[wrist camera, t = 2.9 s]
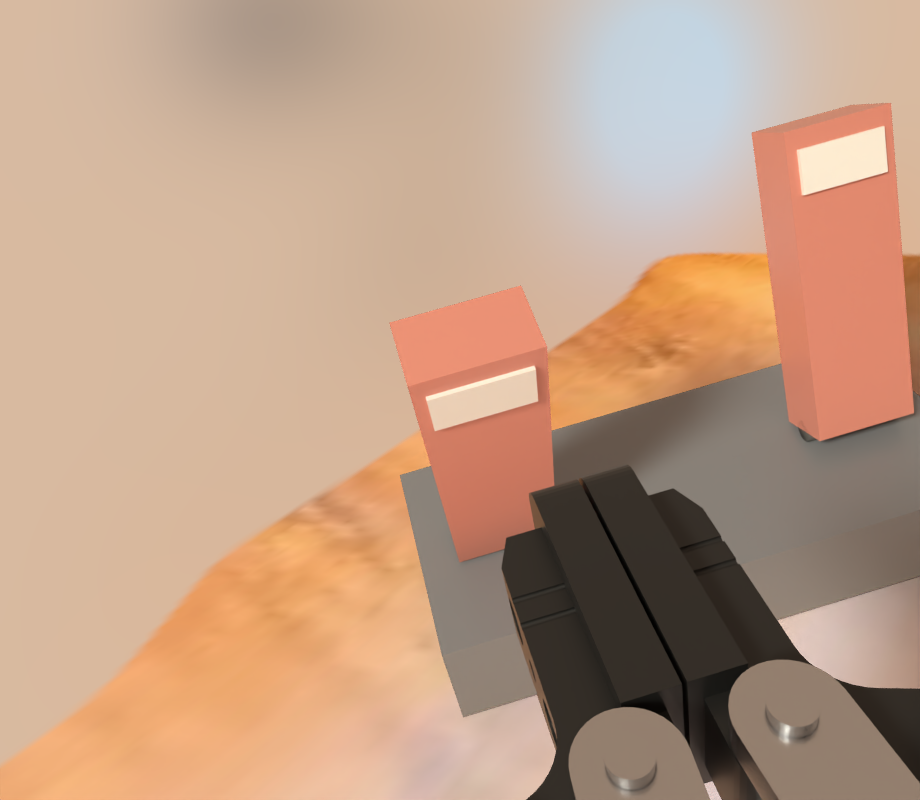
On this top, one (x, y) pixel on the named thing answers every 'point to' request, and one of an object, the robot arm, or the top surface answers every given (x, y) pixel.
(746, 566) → the grey switch base
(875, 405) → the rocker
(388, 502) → the top surface
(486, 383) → the block
